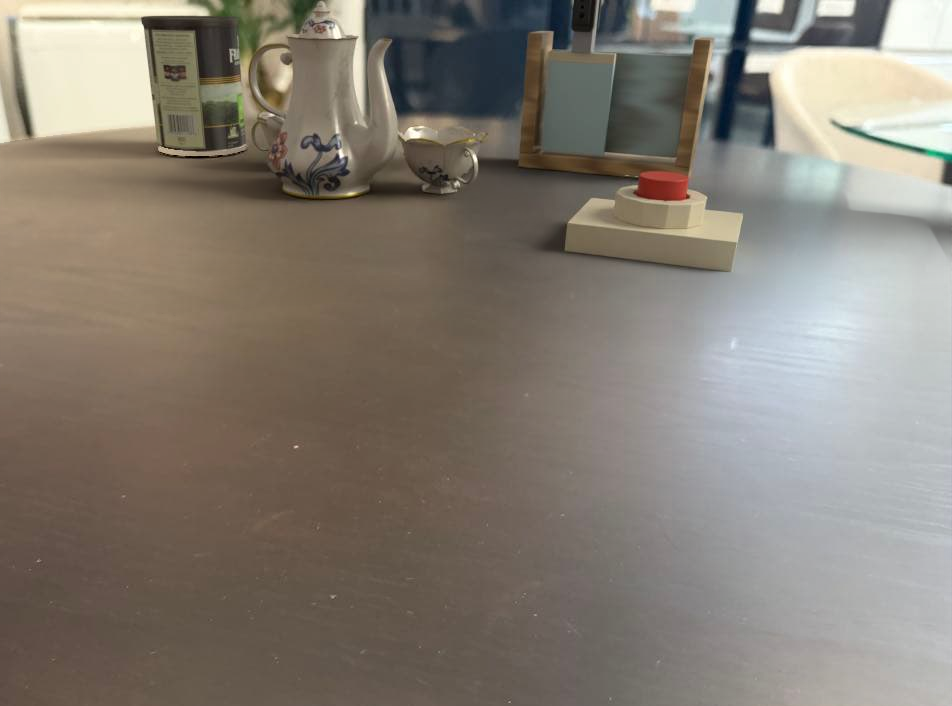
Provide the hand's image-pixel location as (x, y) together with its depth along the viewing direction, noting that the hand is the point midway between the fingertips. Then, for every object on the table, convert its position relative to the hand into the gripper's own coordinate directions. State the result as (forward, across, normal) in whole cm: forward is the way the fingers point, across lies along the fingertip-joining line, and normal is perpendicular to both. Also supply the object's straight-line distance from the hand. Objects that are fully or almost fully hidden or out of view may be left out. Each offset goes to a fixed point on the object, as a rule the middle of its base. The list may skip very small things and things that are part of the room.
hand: (584, 30), depth 85 cm
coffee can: (+14, -9, +42) cm, 45 cm away
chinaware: (+14, -18, +18) cm, 29 cm away
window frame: (+14, +1, -4) cm, 14 cm away
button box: (+14, -27, -12) cm, 33 cm away
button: (+10, -27, -12) cm, 31 cm away
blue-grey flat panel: (+12, 0, 0) cm, 12 cm away
